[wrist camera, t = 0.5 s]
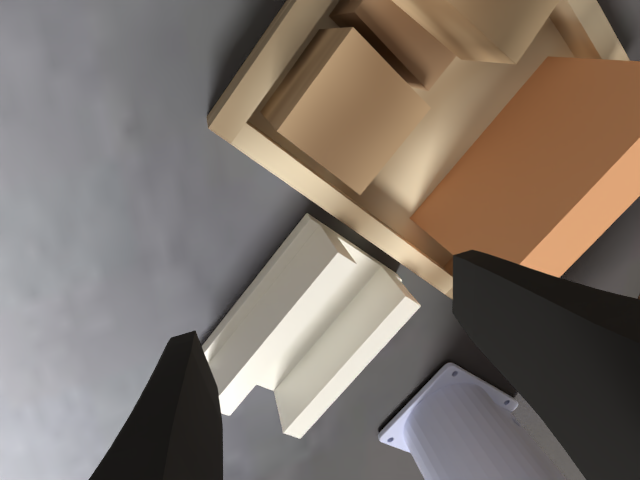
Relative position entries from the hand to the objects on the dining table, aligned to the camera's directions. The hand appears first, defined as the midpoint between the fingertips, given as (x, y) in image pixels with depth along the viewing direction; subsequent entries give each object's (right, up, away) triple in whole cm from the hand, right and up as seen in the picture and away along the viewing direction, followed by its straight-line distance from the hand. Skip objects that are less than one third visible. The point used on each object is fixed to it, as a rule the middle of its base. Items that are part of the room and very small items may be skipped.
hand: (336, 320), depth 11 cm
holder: (-2, -2, +12) cm, 13 cm away
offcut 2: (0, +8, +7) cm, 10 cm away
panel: (+8, +7, +10) cm, 14 cm away
